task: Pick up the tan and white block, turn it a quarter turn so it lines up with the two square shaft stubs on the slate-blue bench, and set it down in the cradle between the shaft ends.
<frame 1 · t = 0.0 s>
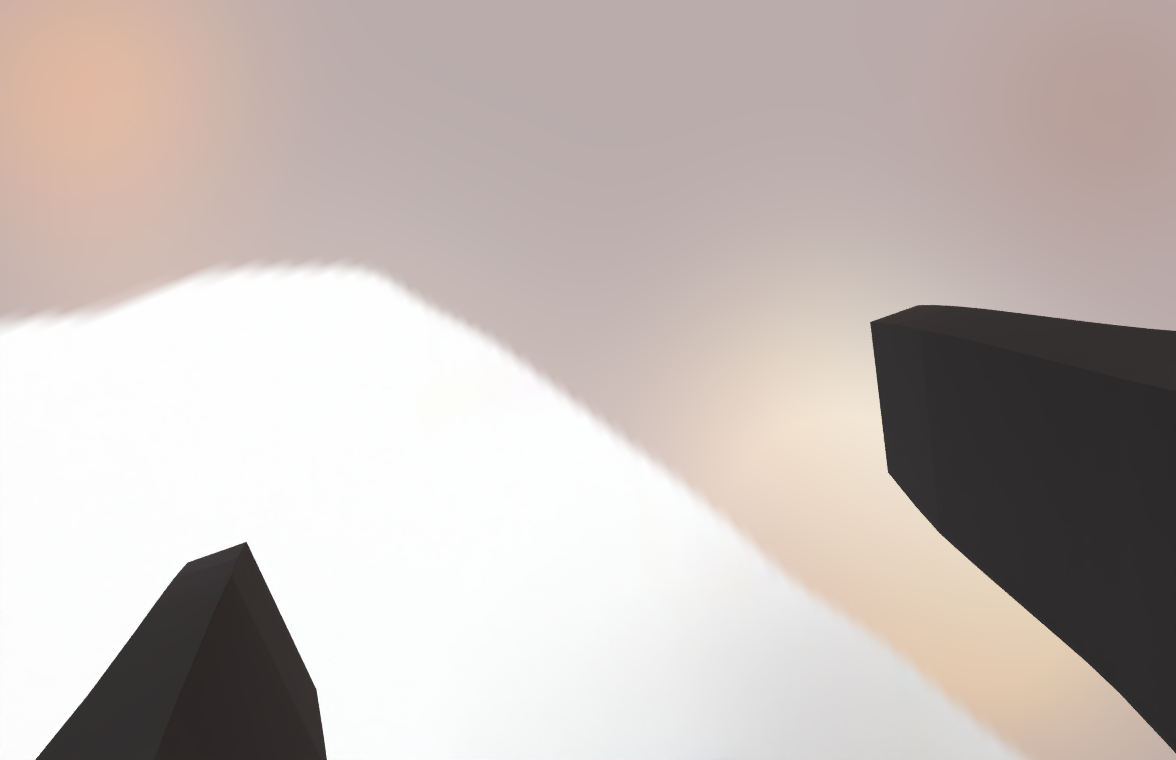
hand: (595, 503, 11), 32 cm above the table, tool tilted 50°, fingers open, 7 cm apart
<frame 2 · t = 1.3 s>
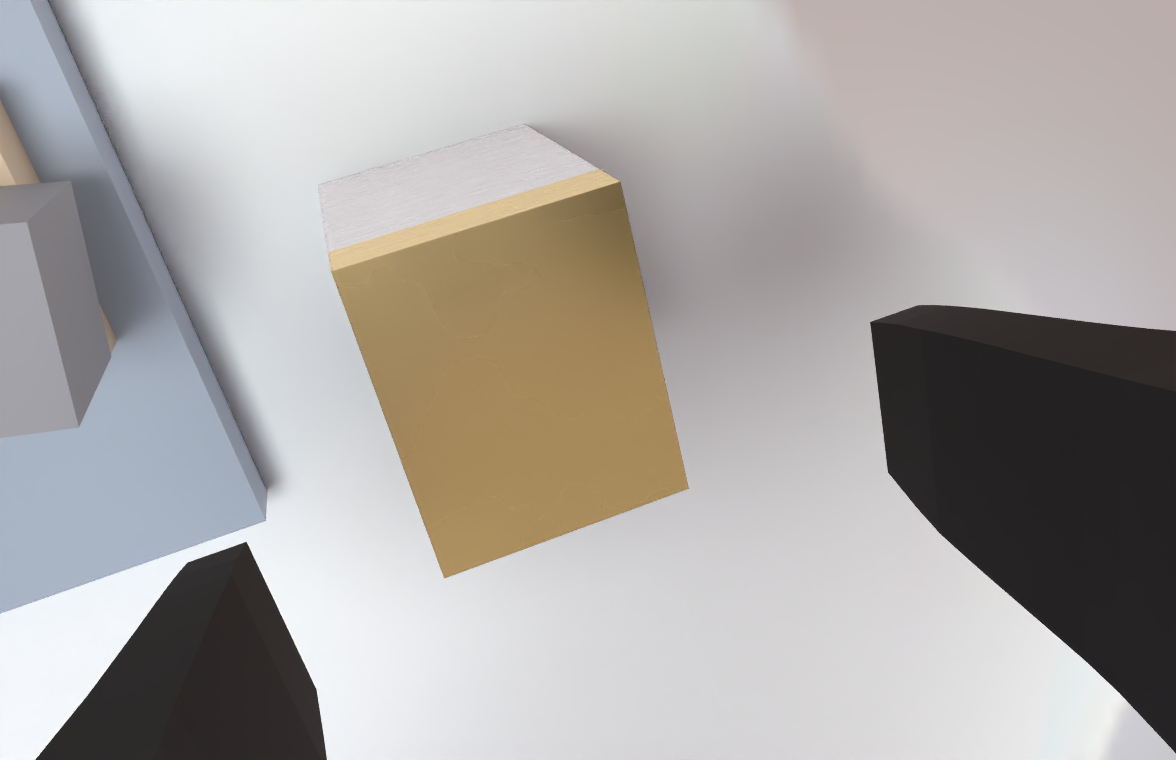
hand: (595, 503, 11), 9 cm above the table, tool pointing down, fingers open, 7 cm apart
tan and white block: (460, 277, 19), on the table
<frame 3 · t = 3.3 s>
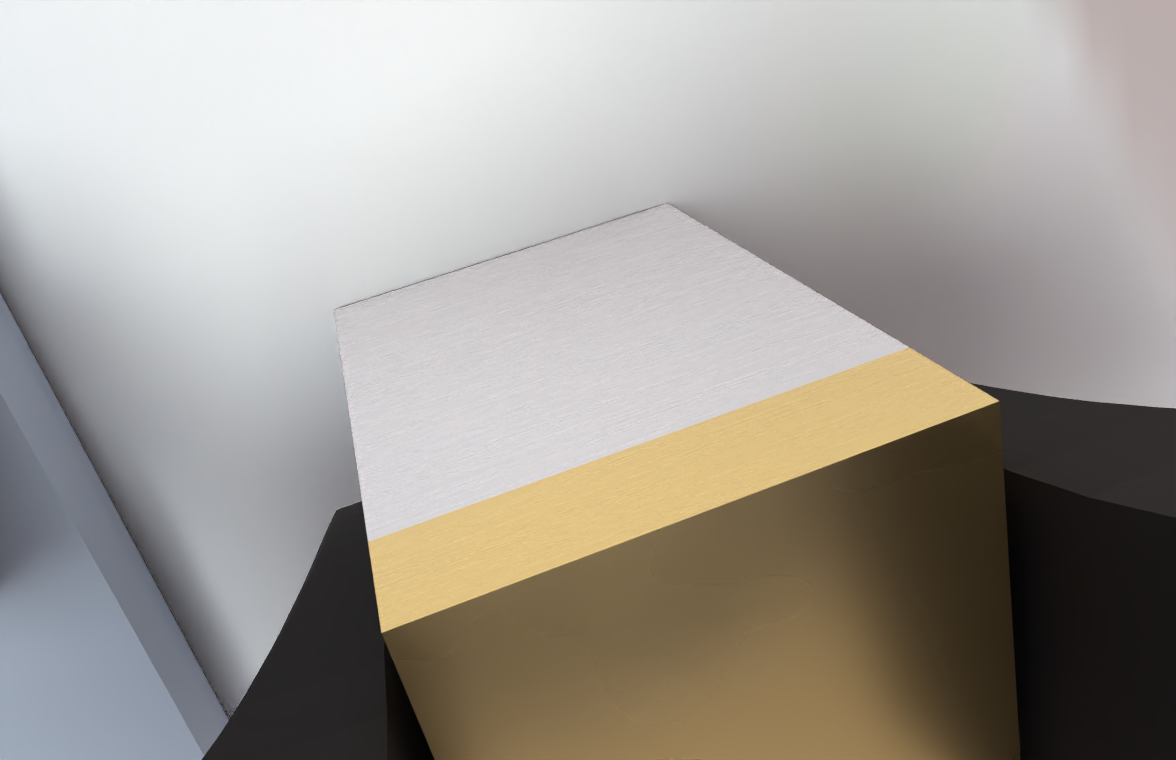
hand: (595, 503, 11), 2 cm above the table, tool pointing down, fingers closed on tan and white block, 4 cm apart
tan and white block: (558, 441, 12), on the table, touching gripper
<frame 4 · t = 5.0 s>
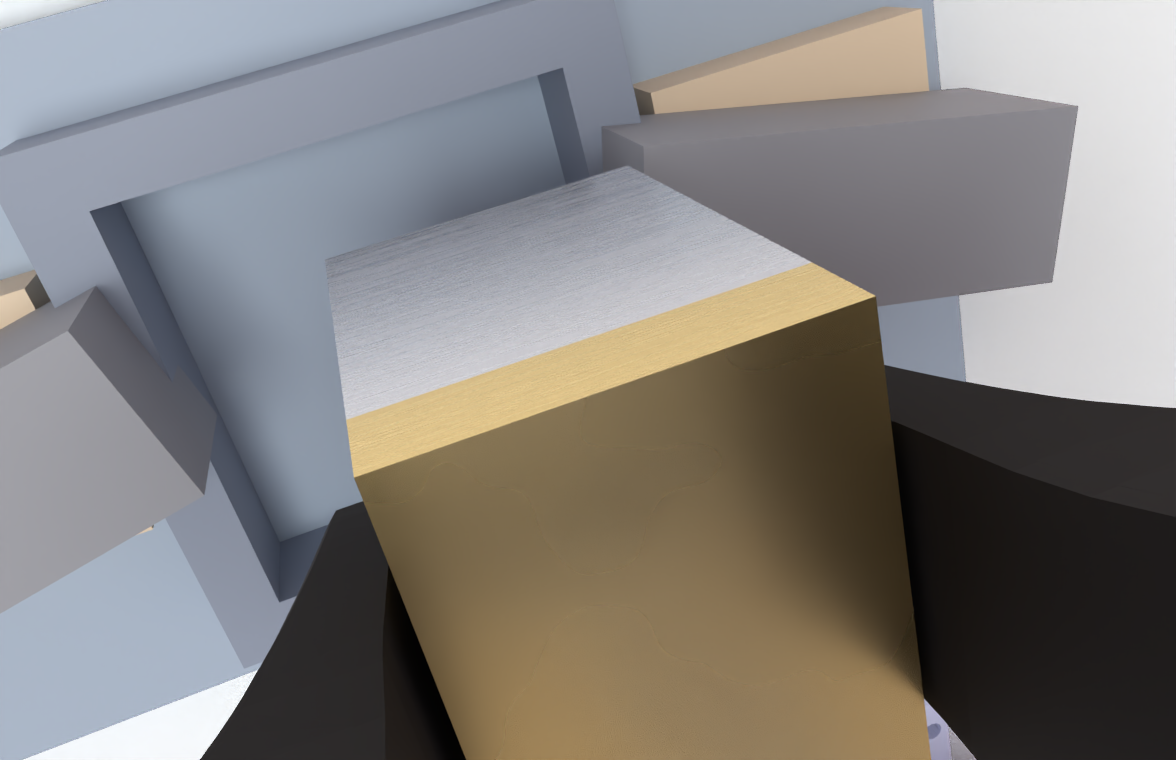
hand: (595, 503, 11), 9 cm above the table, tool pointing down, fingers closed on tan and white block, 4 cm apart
tan and white block: (530, 385, 13), point 6 cm above the table, touching gripper
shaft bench: (392, 294, 18), on the table
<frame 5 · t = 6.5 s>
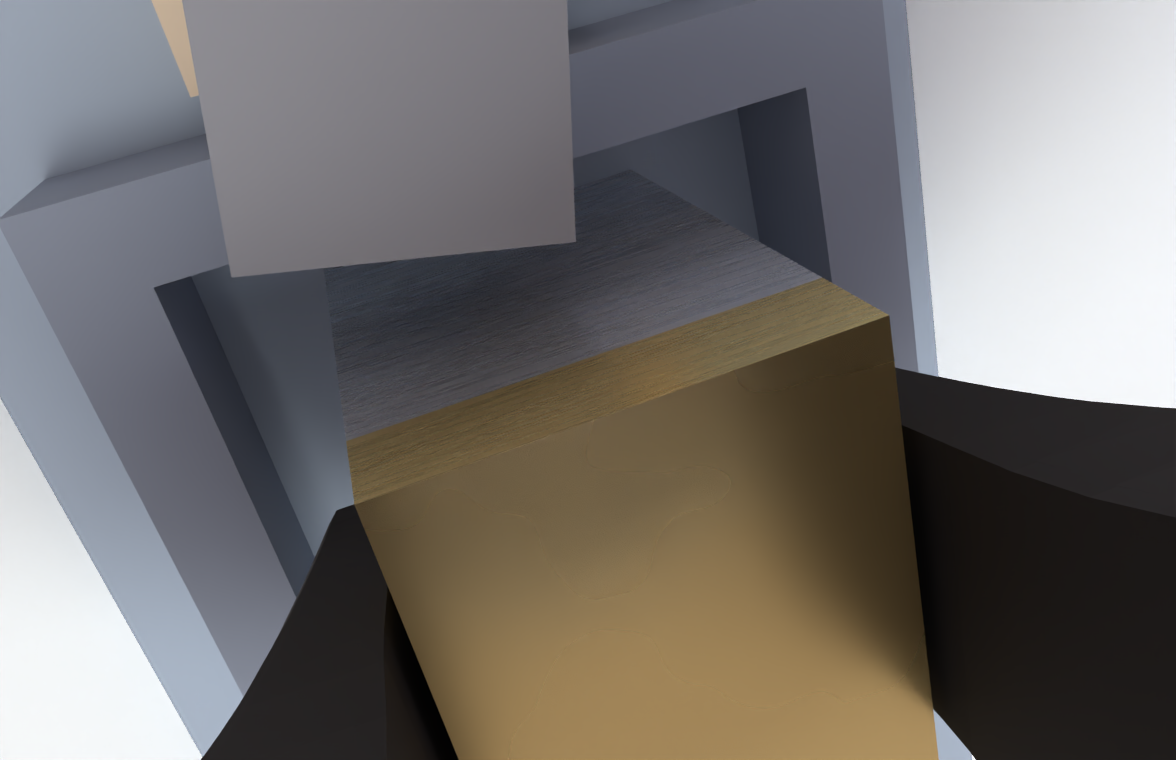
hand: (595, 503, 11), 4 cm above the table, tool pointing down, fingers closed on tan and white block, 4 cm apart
tan and white block: (532, 391, 13), point 1 cm above the table, touching gripper, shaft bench
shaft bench: (519, 370, 14), on the table
when the fingers open (4 cm above the table, at t = 7.2 s): tan and white block stays where it is, resting on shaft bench.
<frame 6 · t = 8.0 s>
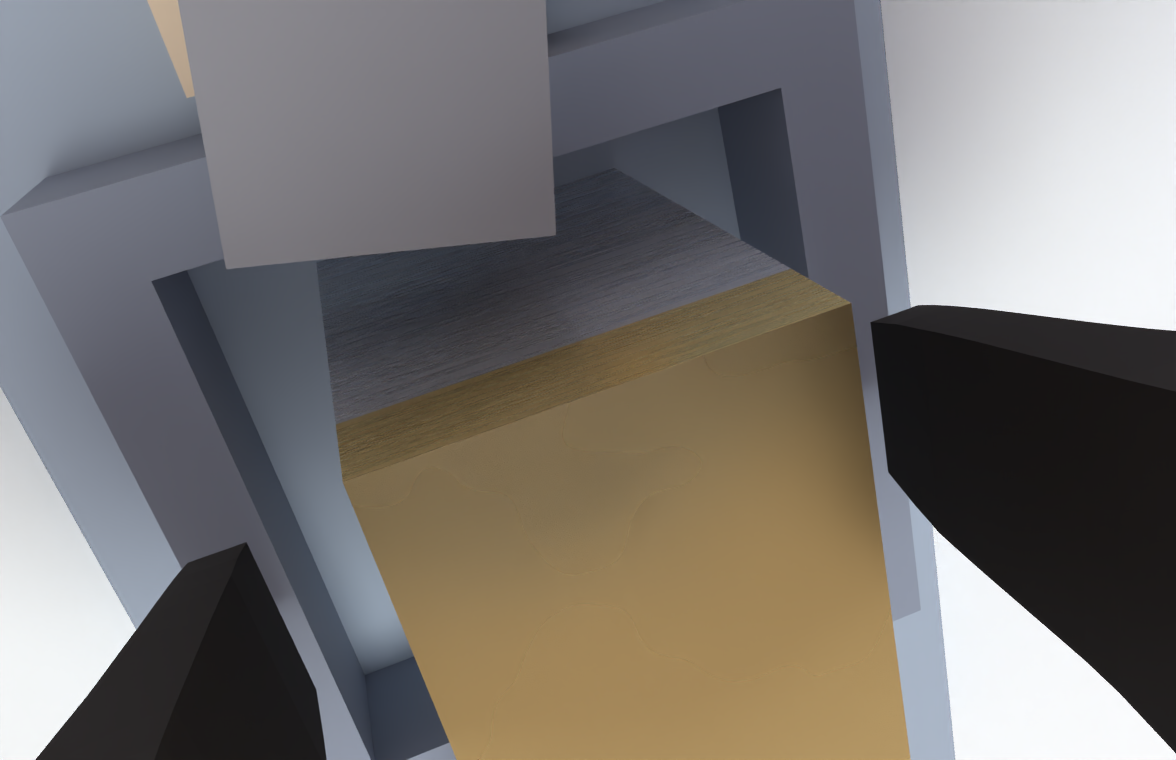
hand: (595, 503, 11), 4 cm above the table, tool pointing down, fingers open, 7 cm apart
tan and white block: (520, 384, 14), point 1 cm above the table, touching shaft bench
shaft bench: (508, 364, 15), on the table
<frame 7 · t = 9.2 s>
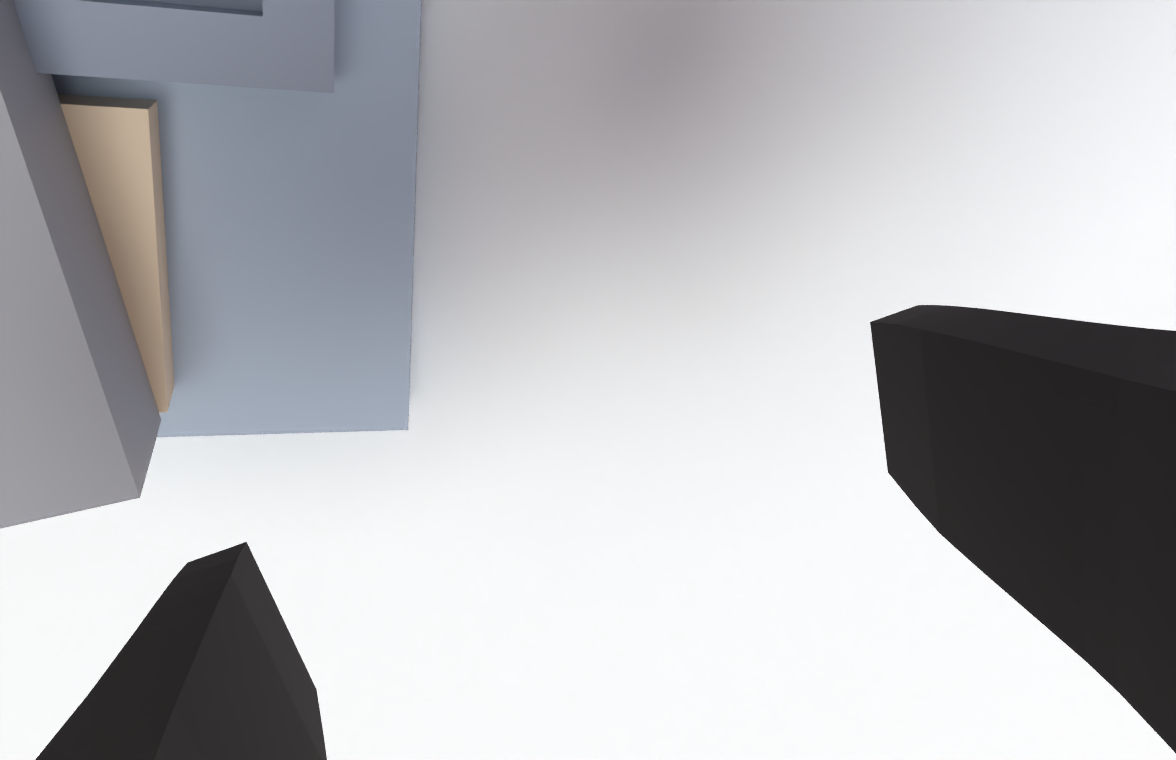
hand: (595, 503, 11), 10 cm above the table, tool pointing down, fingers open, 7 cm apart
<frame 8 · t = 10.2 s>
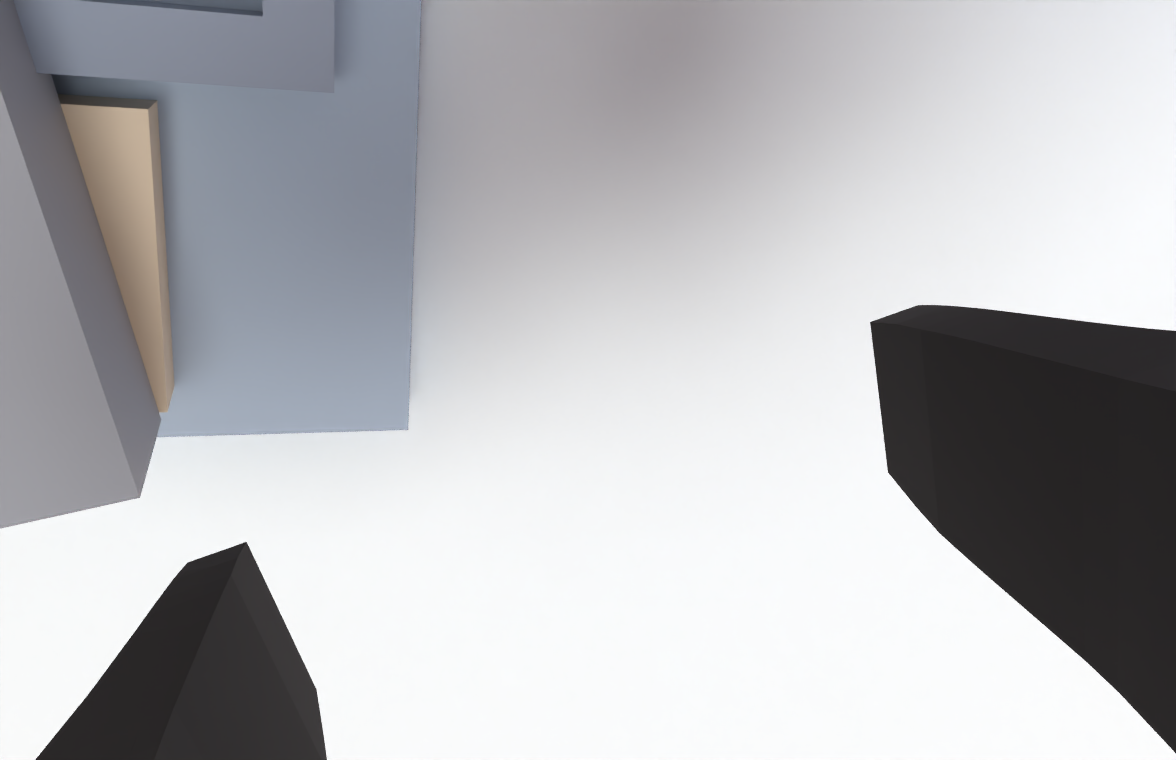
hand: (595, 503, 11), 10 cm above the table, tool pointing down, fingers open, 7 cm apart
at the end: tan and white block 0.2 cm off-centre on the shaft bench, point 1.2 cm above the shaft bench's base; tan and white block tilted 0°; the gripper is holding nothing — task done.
